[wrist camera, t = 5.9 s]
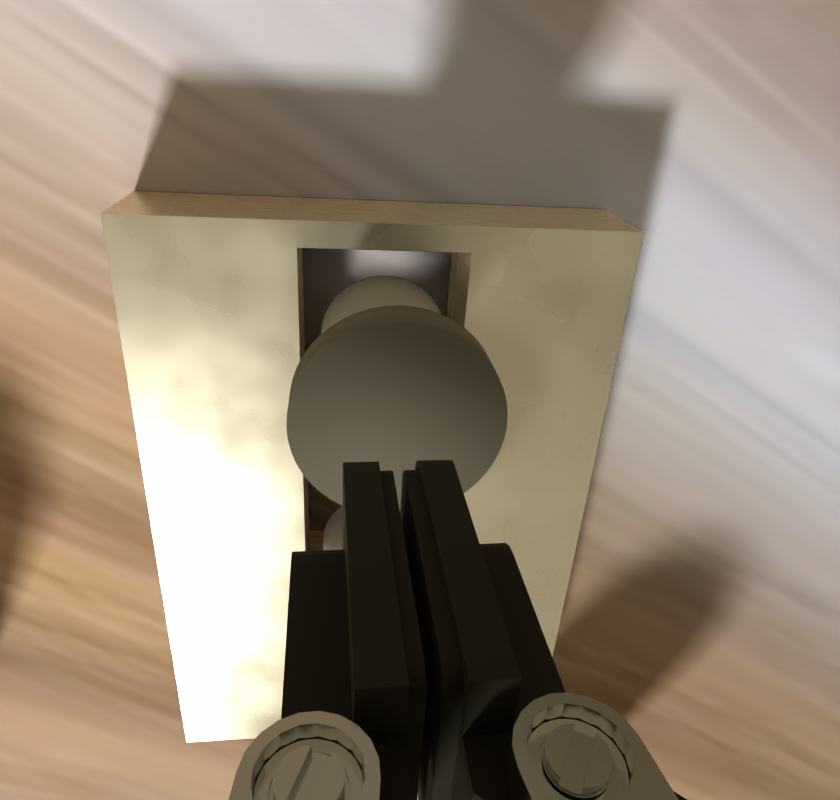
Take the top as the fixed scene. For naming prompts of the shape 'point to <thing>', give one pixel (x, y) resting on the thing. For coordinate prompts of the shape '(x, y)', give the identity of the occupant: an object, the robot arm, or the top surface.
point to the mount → (270, 388)
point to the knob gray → (393, 390)
